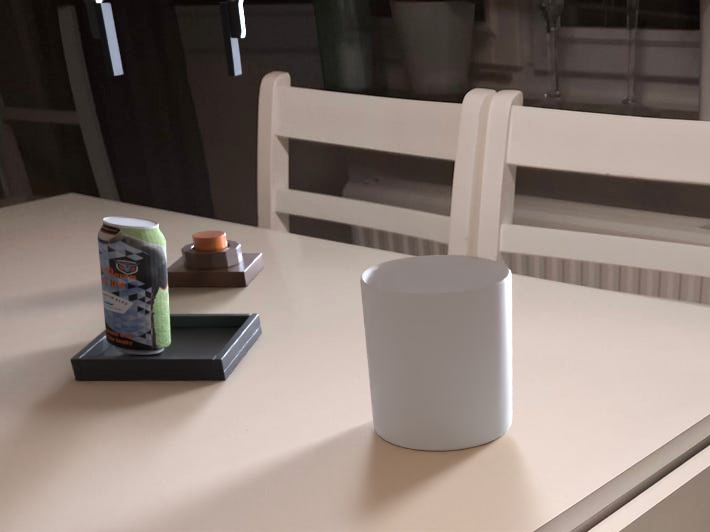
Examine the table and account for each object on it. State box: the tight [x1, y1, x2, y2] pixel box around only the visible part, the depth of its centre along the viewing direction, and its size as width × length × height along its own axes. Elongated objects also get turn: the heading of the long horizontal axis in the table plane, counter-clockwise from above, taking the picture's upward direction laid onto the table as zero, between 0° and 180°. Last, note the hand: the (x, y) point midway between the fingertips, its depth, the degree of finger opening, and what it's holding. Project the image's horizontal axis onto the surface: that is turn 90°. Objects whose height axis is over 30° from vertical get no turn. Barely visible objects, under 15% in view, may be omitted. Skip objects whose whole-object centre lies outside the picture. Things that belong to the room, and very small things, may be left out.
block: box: [167, 239, 265, 288], centre depth 124 cm, size 10×9×4 cm
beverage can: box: [97, 216, 171, 355], centre depth 96 cm, size 6×7×12 cm
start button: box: [191, 230, 228, 251], centre depth 122 cm, size 4×4×2 cm
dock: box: [70, 313, 263, 381], centre depth 100 cm, size 15×15×2 cm
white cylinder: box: [359, 254, 513, 452], centre depth 81 cm, size 12×12×12 cm
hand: (175, 75), depth 111 cm, fingers open, 13 cm apart
